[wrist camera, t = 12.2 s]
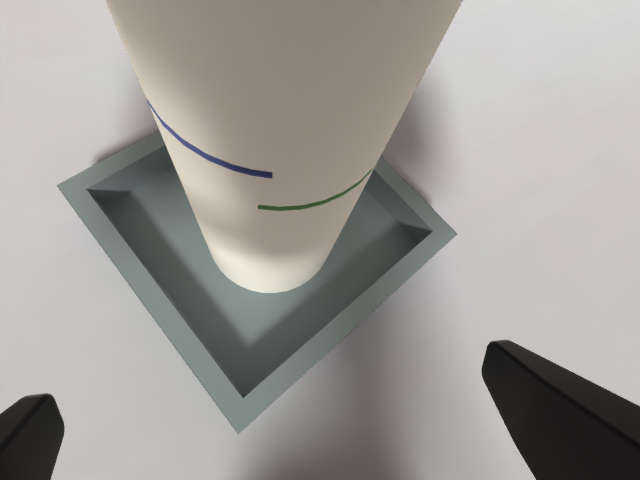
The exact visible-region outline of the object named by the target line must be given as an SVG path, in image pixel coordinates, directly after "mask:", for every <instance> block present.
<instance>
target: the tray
mask: <svg viewBox="0 0 640 480" xmlns="http://www.w3.org/2000/svg"><path fill="white" fill-rule="evenodd" d="M56 186H57V187H58V188H59V190H60V191H61V192H62V194H63V195H64V196H65V198H66V199H67V201H68V202H69V203H70V205H71V206H72V207H73V209H74V210H75V212H76V213H77V214H78V216H79V217H80V218H81V220H82V221H83V223H84V224H85V225H86V227H87V228H88V229H89V231H90V232H91V233H92V235H93V236H94V238H95V239H96V240H97V242H98V243H99V244H100V246H101V247H102V249H103V250H104V251H105V253H106V254H107V255H108V257H109V258H110V259H111V261H112V262H113V264H114V265H115V266H116V268H117V269H118V270H119V272H120V273H121V275H122V276H123V277H124V279H125V280H126V281H127V283H128V284H129V286H130V287H131V288H132V290H133V291H134V292H135V294H136V295H137V296H138V298H139V299H140V301H141V302H142V303H143V305H144V306H145V307H146V309H147V310H148V312H149V313H150V314H151V316H152V317H153V318H154V320H155V321H156V323H157V324H158V325H159V327H160V328H161V329H162V331H163V332H164V333H165V335H166V336H167V338H168V339H169V340H170V342H171V343H172V344H173V346H174V347H175V349H176V350H177V351H178V353H179V354H180V355H181V357H182V358H183V359H184V361H185V362H186V364H187V365H188V366H189V368H190V369H191V370H192V372H193V373H194V375H195V376H196V377H197V379H198V380H199V381H200V383H201V384H202V386H203V387H204V388H205V390H206V391H207V392H208V394H209V395H210V396H211V398H212V399H213V401H214V402H215V403H216V405H217V406H218V407H219V409H220V410H221V412H222V413H223V414H224V416H225V417H226V418H227V420H228V421H229V422H230V424H231V425H232V427H233V428H234V429H235V431H236V432H237V433H238V434H239V433H240V432H241V431H242V430H243V429H244V428H246V427H247V426H248V425H249V424H250V423H251V422H252V421H253V420H254V419H255V418H257V417H258V416H259V415H260V414H261V413H262V412H263V411H264V410H265V409H266V408H267V407H269V406H270V405H271V404H272V403H273V402H274V401H275V400H276V399H277V398H278V397H280V396H281V395H282V394H283V393H284V392H285V391H286V390H287V389H288V388H289V387H290V386H292V385H293V384H294V383H295V382H296V381H297V380H298V379H299V378H300V377H301V376H303V375H304V374H305V373H306V372H307V371H308V370H309V369H310V368H311V367H312V366H313V365H315V364H316V363H317V362H318V361H319V360H320V359H321V358H322V357H323V356H324V355H325V354H327V353H328V352H329V351H330V350H331V349H332V348H333V347H334V346H335V345H336V344H338V343H339V342H340V341H341V340H342V339H343V338H344V337H345V336H346V335H347V334H348V333H350V332H351V331H352V330H353V329H354V328H355V327H356V326H357V325H358V324H359V323H361V322H362V321H363V320H364V319H365V318H366V317H367V316H368V315H369V314H370V313H371V312H373V311H374V310H375V309H376V308H377V307H378V306H379V305H380V304H381V303H382V302H384V301H385V300H386V299H387V298H388V297H389V296H390V295H391V294H392V293H393V292H394V291H396V290H397V289H398V288H399V287H400V286H401V285H402V284H403V283H404V282H405V281H406V280H408V279H409V278H410V277H411V276H412V275H413V274H414V273H415V272H416V271H417V270H419V269H420V268H421V267H422V266H423V265H424V264H425V263H426V262H427V261H428V260H429V259H431V258H432V257H433V256H434V255H435V254H436V253H437V252H438V251H439V250H440V249H442V248H443V247H444V246H445V245H446V244H447V243H448V242H449V241H450V240H451V239H452V238H454V237H455V236H456V235H457V233H456V232H455V231H454V230H453V229H452V228H451V227H450V226H449V225H448V224H447V223H446V222H445V221H444V220H443V219H442V218H441V217H440V216H439V215H438V214H437V213H436V212H435V211H434V209H433V208H432V207H431V206H430V205H429V204H428V203H427V202H426V201H425V200H424V199H423V198H422V197H421V196H420V195H419V194H418V193H417V192H416V191H415V190H414V189H413V188H412V187H411V186H410V185H409V184H408V183H407V182H406V181H405V180H404V179H403V178H402V177H401V176H400V175H399V174H398V173H397V172H396V171H395V170H394V169H393V167H392V166H391V165H390V164H389V163H388V162H387V161H386V160H385V159H384V158H383V157H382V156H380V158H379V160H378V162H377V164H376V166H375V168H374V170H373V172H372V173H371V175H370V177H369V179H368V181H367V183H366V185H365V187H364V189H363V191H362V192H361V194H360V196H359V198H358V200H357V202H356V204H355V206H354V208H353V210H352V211H351V213H350V215H349V217H348V219H347V221H346V223H345V225H344V227H343V229H342V230H341V232H340V234H339V236H338V238H337V240H336V242H335V244H334V246H333V248H332V249H331V251H330V253H329V255H328V257H327V259H326V261H325V262H324V264H323V266H322V267H321V269H320V270H319V271H318V272H317V273H316V274H315V275H314V276H313V277H312V278H311V279H310V280H309V281H307V282H306V283H304V284H302V285H301V286H299V287H296V288H294V289H291V290H289V291H284V292H279V293H261V292H256V291H251V290H248V289H246V288H243V287H241V286H239V285H237V284H236V283H234V282H233V281H231V280H230V279H229V278H228V277H227V276H225V275H224V274H223V273H222V272H221V271H220V269H219V268H218V266H217V265H216V263H215V261H214V260H213V258H212V255H211V253H210V250H209V248H208V246H207V243H206V241H205V238H204V236H203V234H202V231H201V229H200V226H199V224H198V222H197V219H196V217H195V214H194V212H193V210H192V207H191V205H190V202H189V200H188V198H187V195H186V193H185V190H184V188H183V186H182V183H181V181H180V178H179V176H178V174H177V171H176V169H175V166H174V164H173V162H172V159H171V157H170V154H169V152H168V150H167V147H166V145H165V142H164V140H163V138H162V135H161V133H160V130H158V131H156V132H155V133H153V134H151V135H149V136H147V137H145V138H143V139H142V140H140V141H138V142H136V143H134V144H132V145H130V146H129V147H127V148H125V149H123V150H121V151H119V152H118V153H116V154H114V155H112V156H110V157H108V158H106V159H105V160H103V161H101V162H99V163H97V164H95V165H93V166H92V167H90V168H88V169H86V170H84V171H82V172H80V173H79V174H77V175H75V176H73V177H71V178H69V179H67V180H66V181H64V182H62V183H60V184H58V185H56Z"/></svg>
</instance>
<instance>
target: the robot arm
mask: <svg viewBox="0 0 640 480" xmlns="http://www.w3.org/2000/svg"><path fill="white" fill-rule="evenodd" d="M482 377H483V380H484V382H485V384H486V386H487V388H488V390H489V392H490V394H491V396H492V398H493V400H494V402H495V405H496V407H497V409H498V411H499V413H500V415H501V417H502V419H503V421H504V423H505V425H506V427H507V429H508V431H509V433H510V435H511V437H512V439H513V441H514V443H515V445H516V446H517V448H518V450H519V452H520V453H521V455H522V457H523V458H524V460H525V462H526V463H527V465H528V467H529V468H530V470H531V472H532V473H533V475H534V477H535V478H536V480H640V406H638V405H636V404H634V403H632V402H630V401H628V400H626V399H624V398H622V397H620V396H618V395H616V394H614V393H612V392H610V391H609V390H607V389H605V388H603V387H601V386H599V385H597V384H595V383H593V382H591V381H589V380H587V379H585V378H583V377H581V376H579V375H577V374H575V373H573V372H571V371H569V370H567V369H565V368H563V367H561V366H559V365H557V364H555V363H553V362H551V361H549V360H547V359H545V358H543V357H541V356H539V355H537V354H535V353H533V352H531V351H529V350H527V349H525V348H523V347H521V346H519V345H518V344H516V343H514V342H512V341H509V340H499V341H492V342H490V343H489V344H488V346H487V350H486V353H485V357H484V361H483V365H482ZM63 436H64V422H63V419H62V417H61V414H60V412H59V409H58V407H57V404H56V401H55V399H54V397H53V396H52V395H51V394H47V393H45V394H37V395H29V396H25V397H23V398H21V399H20V400H18V401H17V402H16V403H14V404H13V405H12V406H10V407H9V408H8V409H6V410H5V411H4V412H2V413H1V414H0V480H50V479H51V476H52V473H53V470H54V466H55V463H56V460H57V456H58V453H59V450H60V446H61V443H62V440H63Z"/></svg>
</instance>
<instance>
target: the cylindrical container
mask: <svg viewBox="0 0 640 480" xmlns="http://www.w3.org/2000/svg"><path fill="white" fill-rule="evenodd" d="M105 1H106V3H107V6H108V8H109V10H110V13H111V15H112V18H113V20H114V22H115V25H116V27H117V30H118V32H119V34H120V37H121V39H122V42H123V44H124V46H125V49H126V51H127V54H128V56H129V58H130V61H131V63H132V66H133V68H134V70H135V73H136V75H137V78H138V80H139V82H140V85H141V87H142V90H143V92H144V94H145V96H146V98H147V101H148V104H149V106H150V109H151V111H152V114H153V116H154V118H155V121H156V123H157V126H158V128H159V130H160V133H161V135H162V138H163V140H164V142H165V145H166V147H167V150H168V152H169V154H170V157H171V159H172V162H173V164H174V166H175V169H176V171H177V174H178V176H179V178H180V181H181V183H182V186H183V188H184V190H185V193H186V195H187V198H188V200H189V202H190V205H191V207H192V210H193V212H194V214H195V217H196V219H197V222H198V224H199V226H200V229H201V231H202V234H203V236H204V238H205V241H206V243H207V246H208V248H209V250H210V253H211V255H212V258H213V260H214V261H215V263H216V265H217V266H218V268H219V269H220V271H221V272H222V273H223V274H224V275H225V276H227V277H228V278H229V279H230V280H231V281H233V282H234V283H236V284H237V285H239V286H241V287H243V288H246V289H248V290H251V291H256V292H261V293H279V292H284V291H289V290H291V289H294V288H296V287H299V286H301V285H302V284H304V283H306V282H307V281H309V280H310V279H311V278H312V277H313V276H314V275H315V274H316V273H317V272H318V271H319V270H320V269H321V267H322V266H323V264H324V262H325V261H326V259H327V257H328V255H329V253H330V251H331V249H332V248H333V246H334V244H335V242H336V240H337V238H338V236H339V234H340V232H341V230H342V229H343V227H344V225H345V223H346V221H347V219H348V217H349V215H350V213H351V211H352V210H353V208H354V206H355V204H356V202H357V200H358V198H359V196H360V194H361V192H362V191H363V189H364V187H365V185H366V183H367V181H368V179H369V177H370V175H371V173H372V172H373V170H374V168H375V166H376V164H377V162H378V160H379V158H380V156H381V154H382V152H383V151H384V149H385V147H386V145H387V143H388V141H389V139H390V137H391V136H392V134H393V132H394V130H395V128H396V126H397V124H398V122H399V120H400V119H401V117H402V115H403V113H404V111H405V109H406V107H407V105H408V103H409V101H410V100H411V98H412V96H413V94H414V92H415V90H416V88H417V86H418V84H419V83H420V81H421V79H422V77H423V75H424V73H425V71H426V69H427V67H428V65H429V64H430V62H431V60H432V58H433V56H434V54H435V52H436V50H437V48H438V46H439V45H440V43H441V41H442V39H443V37H444V35H445V33H446V31H447V29H448V27H449V26H450V24H451V22H452V20H453V18H454V16H455V14H456V12H457V10H458V9H459V7H460V5H461V3H462V1H463V0H105Z"/></svg>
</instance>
